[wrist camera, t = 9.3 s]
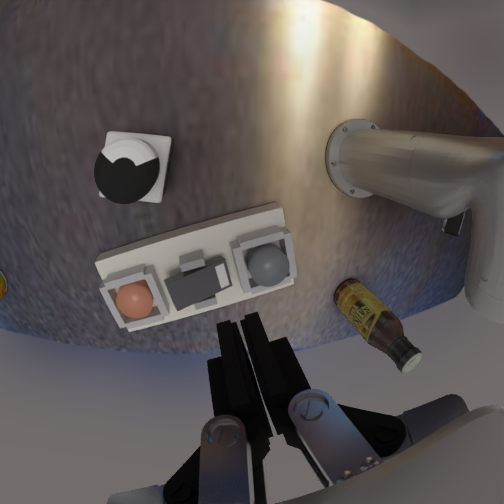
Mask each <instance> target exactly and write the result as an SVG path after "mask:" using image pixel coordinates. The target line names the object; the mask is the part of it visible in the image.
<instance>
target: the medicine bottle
mask: <svg viewBox="0 0 504 504" xmlns="http://www.w3.org/2000/svg"><path fill="white" fill-rule="evenodd" d="M173 142H174V140H173V139H172V138H171V137H168V136H160V135H151V134H140V133H129V132H114V131H110V132H108V133H107V136H106V142H105V147H104V148H103V150H102V151H101V152H100V154H99V156H98V158H97V160H96V163H95V168H94V176H95V182H96V184H97V187H98V189H99V190H100V192H99V195H100V197H105V198H107V199H109V200H111V201H113V202H115V203H120V204H129V203H133V202H136V201H145V202H154V203H160V202H161V201H162V198H163V195H164V192H165V189H166V182H167V176H168V170H169V164H170V158H171V153H172V147H173Z"/></svg>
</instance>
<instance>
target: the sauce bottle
mask: <svg viewBox="0 0 504 504" xmlns="http://www.w3.org/2000/svg"><path fill="white" fill-rule="evenodd" d="M335 302H336V305H337V306H338V308H339V309H340V311H341V312H342V313H343V314H344V315H345V317H346V318H347V319H348V320H349V321H350V322H351V324H352V325H353V326H354V327H355V329H356V330H357V331H358V332H359V333H360V335H361V336H362V337H363V338H364V339H365V340H366V341H367V343H368V344H370V345H372V346H374V347H375V348H377V349H379V350H381V351H383V352H384V353H386V354H387V355H388V356H389V357H390V358H391V359H392V360H393V361H394V362H395V364H396V365H397V368H398V369H399V370H400V371H401V372H402V373H407V372H409V371H411V370H412V369H413V368H414V367H415V366H416V365H417V364H418V363H419V362H420V360H421V358H422V353H421V351H420V350H419V349H418V348H416V347H414V346H413V345H412V344H411V342H409V340H408V339H407V337H405V336H404V333H403V326H402V324H401V322H400V320H399V319H398V318H397V317H396V316H395V315H394V314H393V313H392V311H390V310H389V309H388V308H387V307H386V306H385V305H384V304H383V303H382V302H381V301H380V300H379V299H378V298H377V297H376V296H375V295H374V294H373V293H372V292H371V291H370V290H369V289H367V288H366V287H365V286H364V285H363V284H361V283H360V282H359V281H357V280H354V279H352V280H347V281H345V282H344V283H342V284H341V285H340V287H339V288H338V289H337V291H336V294H335Z"/></svg>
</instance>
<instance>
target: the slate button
mask: <svg viewBox="0 0 504 504" xmlns="http://www.w3.org/2000/svg"><path fill="white" fill-rule="evenodd" d="M246 265H247V269H248V271H249V273H250V274H251V276H252V278H253V280H254V281H255V282H256V283H257V284H258V285H261V286H264V287H271V286H275V285H277V284H279V283H280V282H282V281H283V280H284V279H285V277H286V276H287V274H288V272H289V268H290V263H289V260H288V258H287V256H286V255H285V254H284V253H283V252H282V251H281V250H280V248H279V247H278V246H276V245H274V244H272V243H266V244H263V245H259V246H256V247H254V248H253V249H252V250H251V251H250V252H249V254H248V256H247V260H246Z"/></svg>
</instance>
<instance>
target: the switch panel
mask: <svg viewBox="0 0 504 504" xmlns="http://www.w3.org/2000/svg"><path fill="white" fill-rule="evenodd" d="M266 243H272V244H274V245H276V246H278V247H279V248H280V250H281V251H282V252H283V253H284V254H285V255H286V256H287V258H288V260H289V263H290V268H289V272H288V274H287V276H286V277H285V279H284V280H283V281H282V282H280V283H279V284H277V285H275V286H271V287H264V286H261V285H258V284H257V283H256V282H255V281H254V280H253V278H252V276H251V274H250V273H249V271H248V269H247V265H246V260H247V256H248V254H249V252H250V251H251V250H252V249H253V248H254V247H256V246H259V245H263V244H266ZM217 256H222V257H223V258H225V260H226V263H227V267H228V271H229V274H230V278H231V282H232V285H233V286H231V287H229V288H227V289H225V290H222V291H220V292H218V293H216V294H214V295H212V296H210V297H208V298H206V299H203V300H201V301H199V302H197V303H195V304H193V305H191V306H188V307H186V308H184V309H182V310H180V311H177V310H176V308H175V306H174V304H173V302H172V300H171V297H170V295H169V292H168V290H167V287H166V285H165V282H164V279H167V278H169V277H171V276H173V275H176V274H178V273H180V272H184V271H188V270H191V269H195V268H198V267H202V266H205V262H206V261H208V260H210V259H213V258H215V257H217ZM95 265H96V267H97V269H98V272H99V274H100V276H101V278H102V280H103V282H102V284H101V286H100V288H99V289H100V291H101V293H102V295H103V297H104V299H105V301H106V303H107V305H108V307H109V309H110V311H111V313H112V314H113V316H114V318H115V320H116V322H117V323H118V325H119V327H120V328H123V327H127V329H128V331H129V332H131V331H135V330H139V329H143V328H147V327H151V326H154V325H158V324H162V323H166V322H169V321H173V320H177V319H180V318H184V317H188V316H191V315H195V314H198V313H202V312H205V311H209V310H212V309H216V308H219V307H223V306H226V305H229V304H233V303H236V302H239V301H242V300H246V299H249V298H252V297H255V296H259V295H262V294H265V293H268V292H271V291H274V290H277V289H280V288H283V287H287V286H290V285H293V284H294V280H293V278H295V277H297V271H296V263H295V256H294V249H293V242H292V235H291V232H290V231H289V230H288V229H286V226H285V220H284V214H283V208H282V207H281V206H280V205H278V204H277V203H275V202H274V203H270V204H267V205H263V206H259V207H255V208H251V209H247V210H244V211H240V212H236V213H232V214H229V215H225V216H221V217H218V218H214V219H211V220H207V221H204V222H200V223H197V224H193V225H190V226H186V227H183V228H180V229H176V230H173V231H170V232H166V233H163V234H160V235H157V236H153V237H150V238H147V239H144V240H141V241H137V242H134V243H131V244H128V245H125V246H122V247H119V248H116V249H113V250H110V251H107V252H104V253H101V254H100V255H99V256H98V258H97V259H96V261H95ZM143 279H145V280H146V281H147V283H148V286H149V288H150V290H151V293H152V295H153V297H154V299H153V307H152V310H151V312H150V313H149V314H148V315H147V316H145V317H142V318H131V317H128V316H126V315H124V314H123V313H122V312H121V311H120V310H119V308H118V306H117V304H116V297H117V294H118V291H119V288H120V286H123V285H126V284H129V283H133V282H136V281H139V280H143Z"/></svg>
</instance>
